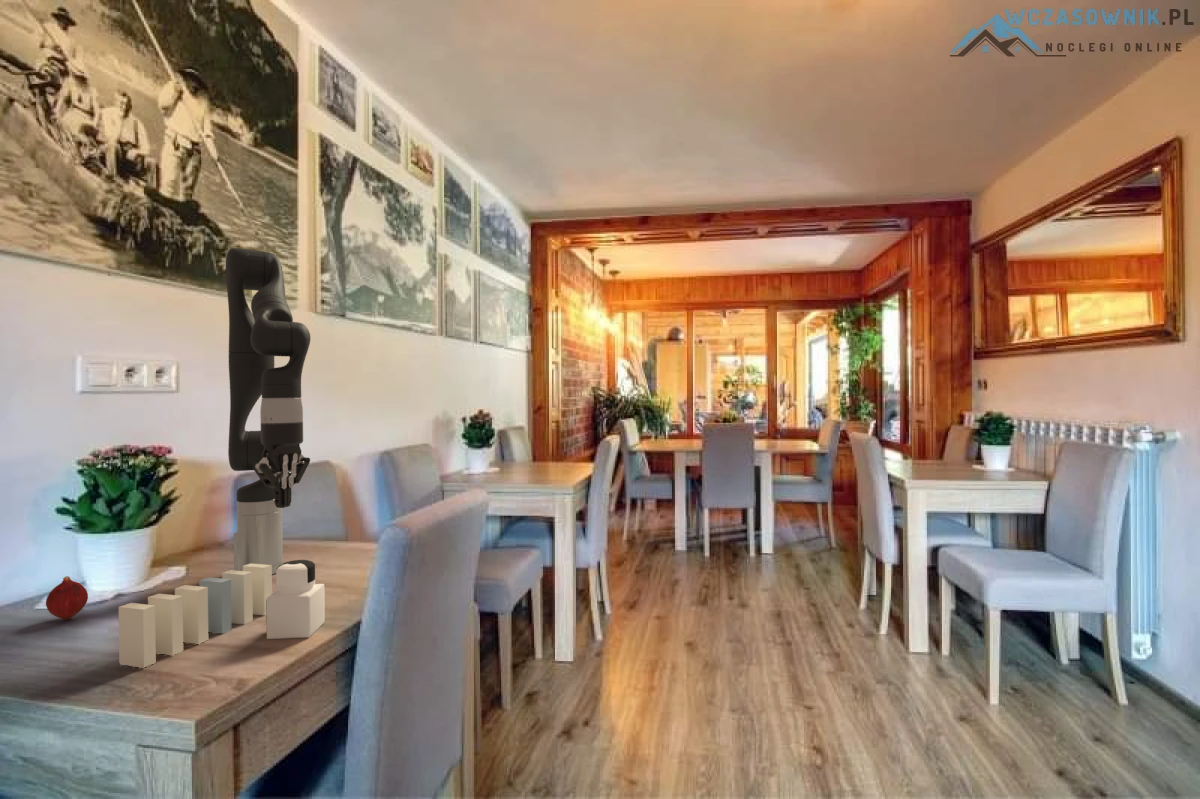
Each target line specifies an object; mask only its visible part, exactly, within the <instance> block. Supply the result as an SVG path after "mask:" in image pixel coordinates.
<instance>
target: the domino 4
mask: <svg viewBox="0 0 1200 799" xmlns="http://www.w3.org/2000/svg"><path fill="white" fill-rule="evenodd" d="M198 586H200V587H208V632H214V633H213V634H216V633H222V634H221V635H224V634H226V633H225V632H227V633H229V632H231V631H232V623H231V579H222V577H210V576H209V577H205V578H202V579H199V581H198ZM230 630H231V631H230ZM228 631H229V632H228ZM223 633H224V634H223Z"/></svg>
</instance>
